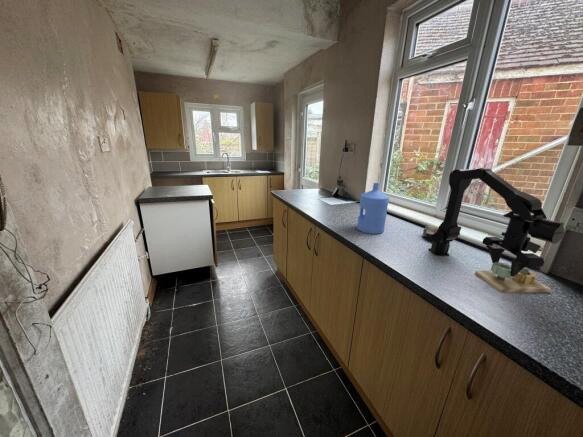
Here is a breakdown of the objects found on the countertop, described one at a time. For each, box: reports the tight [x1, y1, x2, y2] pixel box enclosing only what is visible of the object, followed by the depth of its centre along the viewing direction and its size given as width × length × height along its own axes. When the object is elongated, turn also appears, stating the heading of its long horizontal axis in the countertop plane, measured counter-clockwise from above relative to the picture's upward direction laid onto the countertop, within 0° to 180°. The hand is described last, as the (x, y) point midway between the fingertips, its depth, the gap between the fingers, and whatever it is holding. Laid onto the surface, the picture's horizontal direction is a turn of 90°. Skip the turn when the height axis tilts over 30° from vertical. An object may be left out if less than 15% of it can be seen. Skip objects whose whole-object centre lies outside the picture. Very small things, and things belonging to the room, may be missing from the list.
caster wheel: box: [421, 224, 439, 243], centre depth 127 cm, size 7×11×10 cm
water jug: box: [356, 182, 390, 235], centre depth 136 cm, size 16×16×28 cm
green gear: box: [489, 261, 516, 279], centre depth 87 cm, size 7×7×3 cm
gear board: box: [474, 267, 552, 293], centre depth 88 cm, size 18×12×6 cm, turn 91°
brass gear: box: [513, 270, 538, 284], centre depth 88 cm, size 7×7×3 cm
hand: (503, 270), depth 88 cm, fingers closed on green gear, 7 cm apart
